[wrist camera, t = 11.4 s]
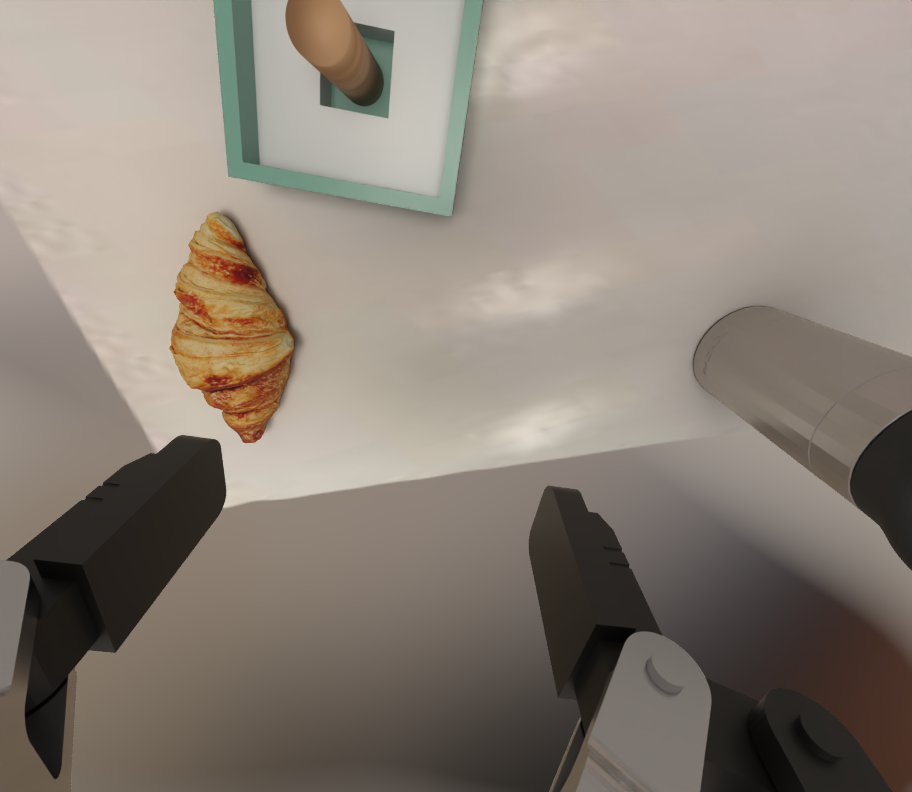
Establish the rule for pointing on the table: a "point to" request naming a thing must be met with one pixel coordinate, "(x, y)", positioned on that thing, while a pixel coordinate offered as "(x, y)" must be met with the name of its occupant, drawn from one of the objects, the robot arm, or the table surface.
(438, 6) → the box
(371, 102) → the peg
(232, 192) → the table surface
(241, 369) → the croissant
